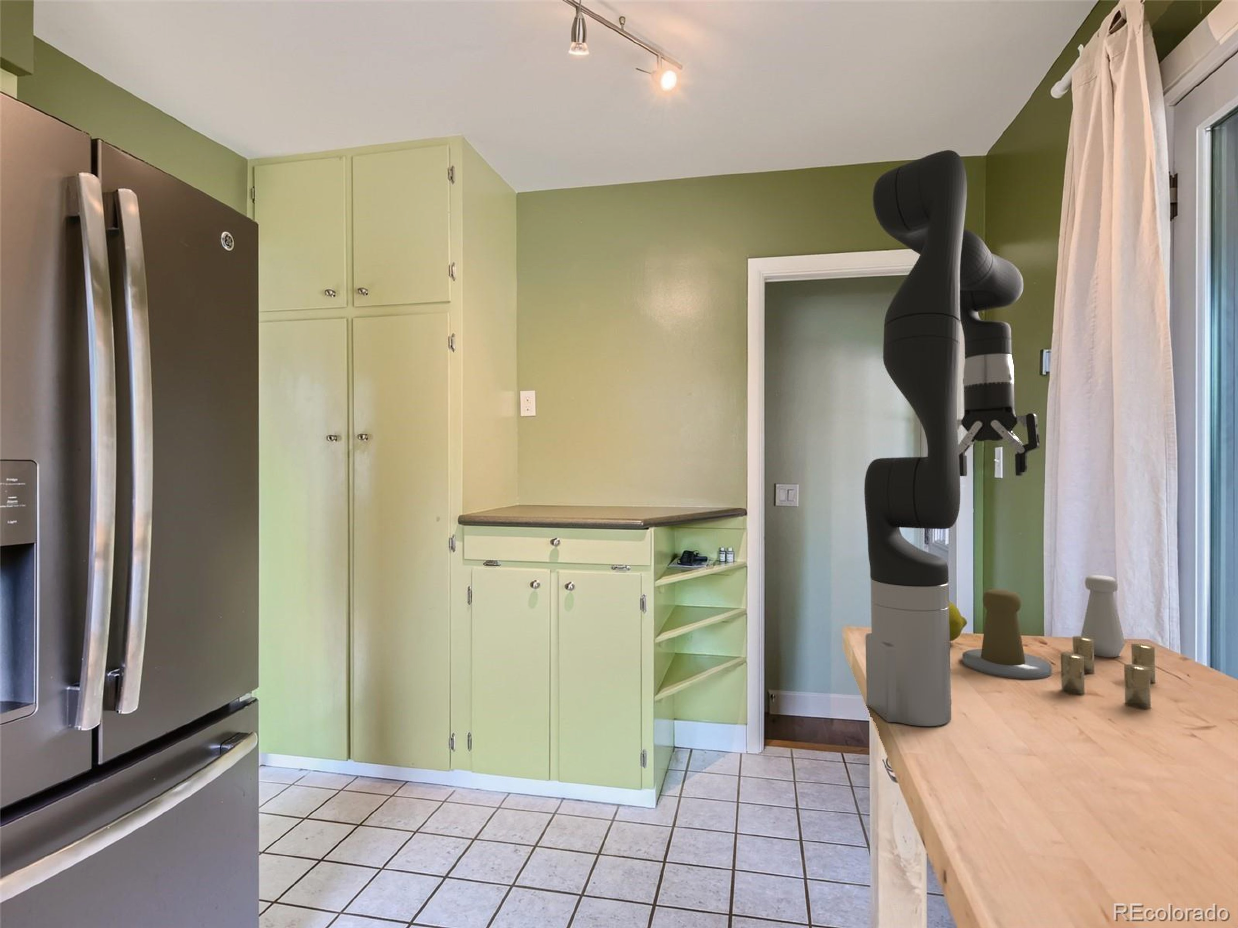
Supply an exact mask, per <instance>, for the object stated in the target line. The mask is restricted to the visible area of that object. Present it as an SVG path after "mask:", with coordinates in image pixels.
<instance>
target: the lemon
mask: <svg viewBox="0 0 1238 928" xmlns="http://www.w3.org/2000/svg"><path fill="white" fill-rule="evenodd" d="M967 624H968V621H967V619H966V617H964V616H962V614H961V612H960V610H959V608H958V607H957V605H955V604H954V603H953V602H951V601H949V629H950V642H953V641H955V640H957V638H959V637H960V635H961V633H962V631H963V629H964V628H965V627H966V626H967Z"/></svg>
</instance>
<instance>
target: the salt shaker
mask: <svg viewBox="0 0 1238 928" xmlns="http://www.w3.org/2000/svg"><path fill="white" fill-rule="evenodd" d="M1084 585H1085V589H1087V590H1088V591H1089V594H1088V600H1087V601H1088V602H1087V606H1086V611H1085V615H1084V620H1083V625H1082V629H1081V633H1080V636H1082V637H1088V638H1092V639H1094V656H1097V657H1103V658H1104V657H1105V658H1116V657H1119V656H1120V654H1121V653H1122V651H1123V649H1124V648H1125V645H1126V642H1125V636H1124V633H1123V629H1122V625H1121V621H1120V619H1121V618H1120V616H1119V613H1118V608H1117V604H1116V603H1117V602H1116V600H1115V595H1114V592H1117V591H1118V586H1119V585H1118V582H1117V580H1116V579H1115V578H1114V577H1111V576H1109V575H1100V574H1099V575H1097V574H1095V575H1094V574H1093V575H1088V576H1086V577H1085V581H1084Z"/></svg>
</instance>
